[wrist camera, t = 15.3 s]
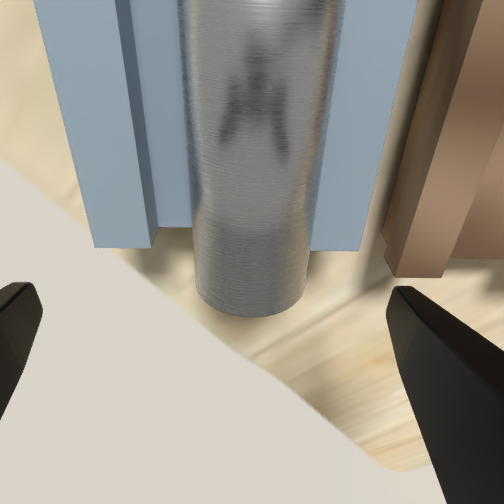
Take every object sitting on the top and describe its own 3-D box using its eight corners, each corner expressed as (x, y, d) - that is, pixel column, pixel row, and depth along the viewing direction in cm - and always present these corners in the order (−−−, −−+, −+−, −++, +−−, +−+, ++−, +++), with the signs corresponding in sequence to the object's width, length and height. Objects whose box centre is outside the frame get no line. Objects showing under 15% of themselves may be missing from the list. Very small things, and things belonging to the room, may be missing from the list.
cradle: (57, -204, 10) (-44, -310, 7) (399, -184, 11) (483, -275, 7) (126, 192, 17) (94, 247, 14) (334, 196, 18) (358, 251, 14)
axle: (124, -375, 7) (190, -657, 4) (316, -304, 8) (474, -469, 5) (182, 261, 15) (218, 331, 12) (273, 240, 16) (326, 298, 13)
